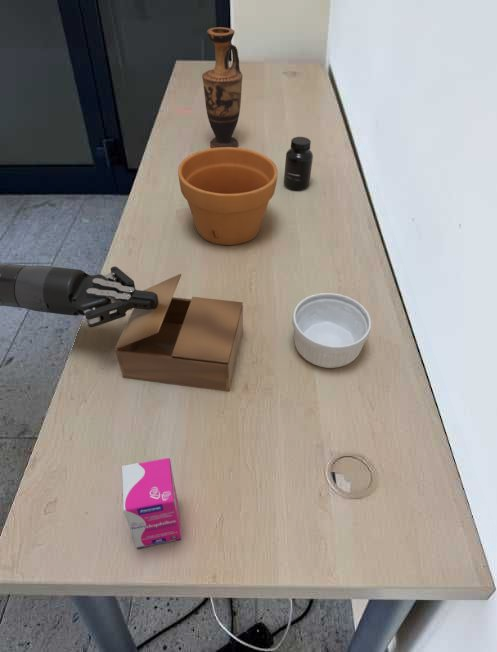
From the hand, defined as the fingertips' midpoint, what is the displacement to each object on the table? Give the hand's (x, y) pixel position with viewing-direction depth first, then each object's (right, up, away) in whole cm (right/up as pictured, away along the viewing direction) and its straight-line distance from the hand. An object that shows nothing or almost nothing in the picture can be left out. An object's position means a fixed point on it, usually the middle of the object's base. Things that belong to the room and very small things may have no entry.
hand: (156, 301), depth 77 cm
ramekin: (+29, -8, +9) cm, 31 cm away
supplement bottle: (+27, +33, +51) cm, 66 cm away
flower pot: (+10, +19, +36) cm, 42 cm away
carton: (+4, -9, +8) cm, 12 cm away
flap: (-1, -1, +2) cm, 3 cm away
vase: (+7, +50, +67) cm, 84 cm away
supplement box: (+3, -30, -14) cm, 33 cm away
